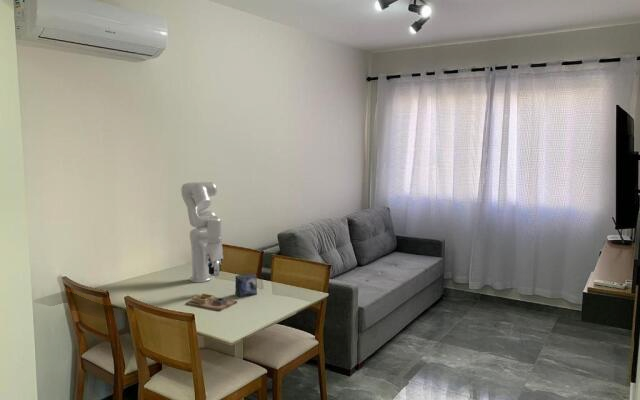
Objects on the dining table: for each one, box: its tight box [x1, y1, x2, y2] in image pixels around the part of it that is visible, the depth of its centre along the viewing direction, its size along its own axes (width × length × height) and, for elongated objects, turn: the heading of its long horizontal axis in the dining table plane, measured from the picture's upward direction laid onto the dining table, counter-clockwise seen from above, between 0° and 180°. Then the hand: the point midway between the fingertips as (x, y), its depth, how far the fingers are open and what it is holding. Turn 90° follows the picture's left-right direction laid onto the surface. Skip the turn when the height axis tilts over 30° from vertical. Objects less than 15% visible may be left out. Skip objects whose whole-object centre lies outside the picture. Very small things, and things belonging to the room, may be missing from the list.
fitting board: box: [185, 292, 238, 312], centre depth 249 cm, size 14×22×3 cm, turn 64°
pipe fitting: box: [209, 260, 220, 277], centre depth 267 cm, size 5×5×8 cm
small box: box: [234, 273, 258, 298], centre depth 264 cm, size 11×6×10 cm, turn 117°
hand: (214, 272), depth 267 cm, fingers closed on pipe fitting, 5 cm apart
